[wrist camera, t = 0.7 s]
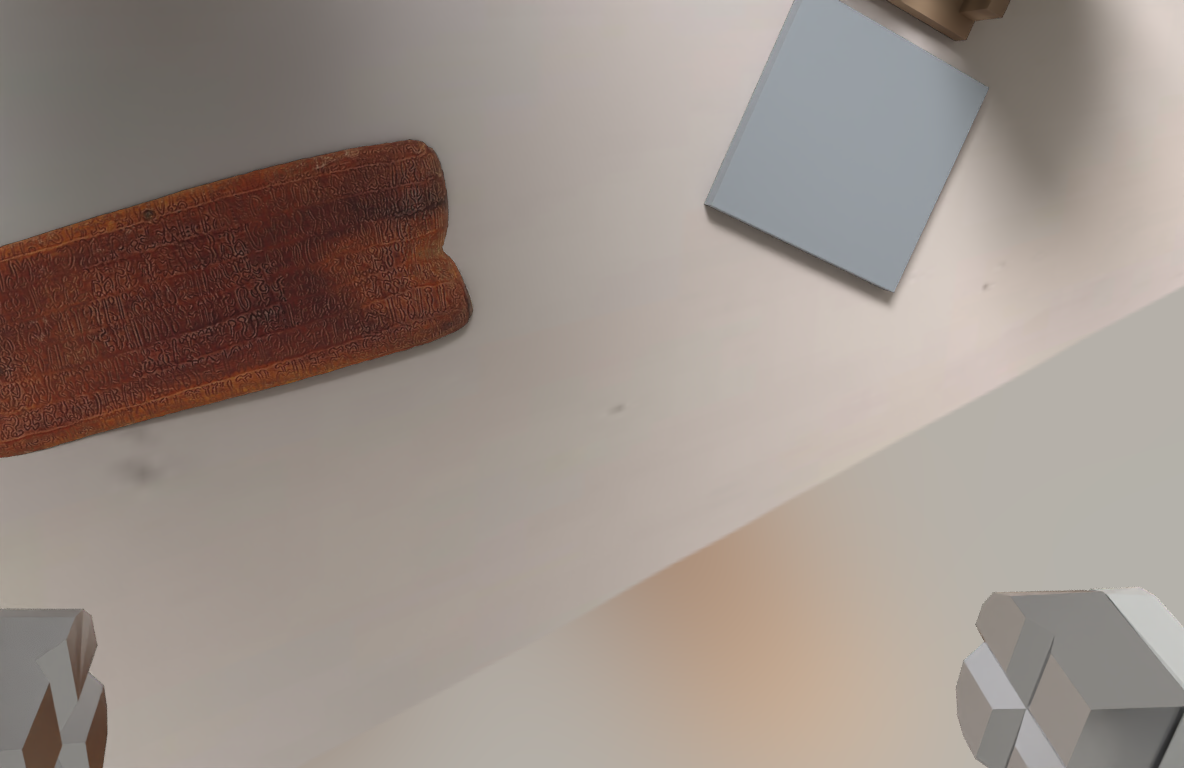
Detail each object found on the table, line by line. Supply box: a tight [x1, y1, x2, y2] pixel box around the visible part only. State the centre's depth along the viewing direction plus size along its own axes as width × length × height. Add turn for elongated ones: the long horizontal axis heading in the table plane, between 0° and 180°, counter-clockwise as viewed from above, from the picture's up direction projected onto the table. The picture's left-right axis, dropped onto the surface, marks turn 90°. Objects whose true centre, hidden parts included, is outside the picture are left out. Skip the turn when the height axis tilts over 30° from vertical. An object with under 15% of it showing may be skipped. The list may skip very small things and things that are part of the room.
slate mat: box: [704, 0, 989, 292], centre depth 59 cm, size 12×12×1 cm
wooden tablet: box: [0, 140, 473, 458], centre depth 52 cm, size 27×10×2 cm, turn 103°
